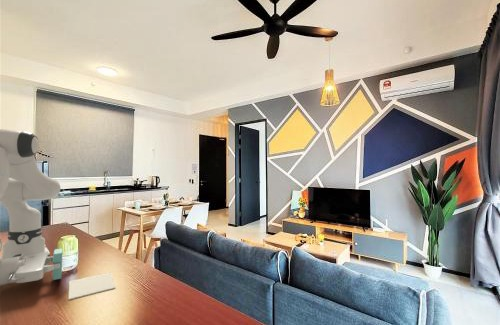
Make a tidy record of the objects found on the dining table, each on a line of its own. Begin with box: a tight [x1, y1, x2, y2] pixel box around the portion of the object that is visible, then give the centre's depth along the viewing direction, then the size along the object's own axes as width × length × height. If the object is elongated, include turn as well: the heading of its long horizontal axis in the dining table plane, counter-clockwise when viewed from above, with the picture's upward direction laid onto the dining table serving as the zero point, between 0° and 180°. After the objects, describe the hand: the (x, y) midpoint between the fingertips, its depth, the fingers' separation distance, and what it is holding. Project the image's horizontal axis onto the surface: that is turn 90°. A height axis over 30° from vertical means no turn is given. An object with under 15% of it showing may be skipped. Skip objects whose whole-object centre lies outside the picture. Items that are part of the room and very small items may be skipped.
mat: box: [68, 271, 116, 301], centre depth 91 cm, size 15×14×1 cm
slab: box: [52, 247, 63, 281], centre depth 95 cm, size 6×3×10 cm, turn 36°
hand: (60, 261), depth 95 cm, fingers closed on slab, 6 cm apart
